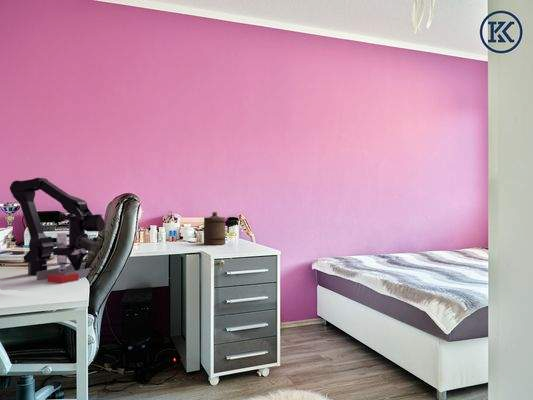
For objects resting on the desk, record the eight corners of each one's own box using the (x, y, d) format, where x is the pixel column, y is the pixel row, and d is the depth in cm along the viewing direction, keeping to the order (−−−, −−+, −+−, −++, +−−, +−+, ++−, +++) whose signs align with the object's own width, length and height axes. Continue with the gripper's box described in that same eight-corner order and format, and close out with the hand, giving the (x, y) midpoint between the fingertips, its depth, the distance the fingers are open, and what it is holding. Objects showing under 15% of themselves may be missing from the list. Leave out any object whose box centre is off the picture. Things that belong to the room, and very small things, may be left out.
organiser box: (36, 279, 150) (36, 271, 150) (86, 269, 174) (86, 262, 174) (64, 282, 146) (64, 273, 146) (111, 270, 170) (111, 263, 170)
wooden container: (229, 243, 285) (229, 211, 285) (218, 245, 272) (217, 212, 272) (211, 242, 291) (211, 211, 291) (199, 244, 278) (199, 212, 278)
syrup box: (75, 261, 197) (75, 231, 197) (66, 263, 191) (66, 232, 191) (65, 261, 199) (65, 231, 199) (56, 263, 193) (56, 232, 193)
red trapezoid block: (78, 281, 149) (78, 264, 150) (61, 284, 144) (61, 266, 144) (64, 279, 153) (64, 262, 153) (47, 282, 147) (47, 265, 147)
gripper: (75, 233, 149) (75, 276, 149) (110, 230, 167) (110, 268, 167) (51, 233, 153) (51, 274, 153) (87, 229, 170) (87, 267, 170)
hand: (77, 271), depth 160 cm, fingers closed
